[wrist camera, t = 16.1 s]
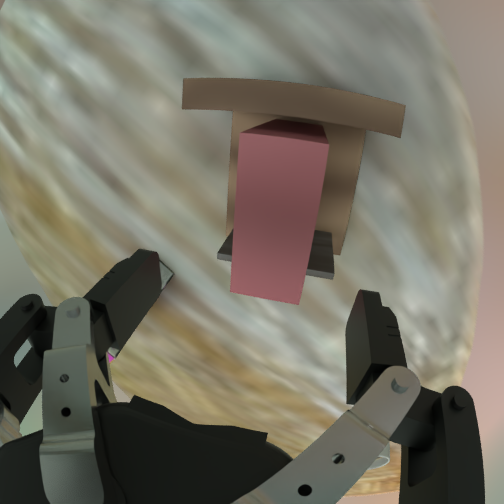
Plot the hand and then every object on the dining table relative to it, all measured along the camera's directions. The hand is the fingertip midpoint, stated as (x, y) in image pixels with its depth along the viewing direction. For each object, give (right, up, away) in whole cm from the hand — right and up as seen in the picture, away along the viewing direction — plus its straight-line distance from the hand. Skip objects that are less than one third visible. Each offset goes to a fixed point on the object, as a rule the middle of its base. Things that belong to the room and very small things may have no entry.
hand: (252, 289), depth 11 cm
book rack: (+4, +10, +18) cm, 21 cm away
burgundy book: (+4, +9, +17) cm, 20 cm away
